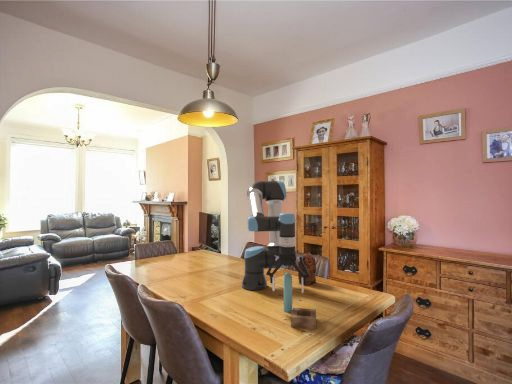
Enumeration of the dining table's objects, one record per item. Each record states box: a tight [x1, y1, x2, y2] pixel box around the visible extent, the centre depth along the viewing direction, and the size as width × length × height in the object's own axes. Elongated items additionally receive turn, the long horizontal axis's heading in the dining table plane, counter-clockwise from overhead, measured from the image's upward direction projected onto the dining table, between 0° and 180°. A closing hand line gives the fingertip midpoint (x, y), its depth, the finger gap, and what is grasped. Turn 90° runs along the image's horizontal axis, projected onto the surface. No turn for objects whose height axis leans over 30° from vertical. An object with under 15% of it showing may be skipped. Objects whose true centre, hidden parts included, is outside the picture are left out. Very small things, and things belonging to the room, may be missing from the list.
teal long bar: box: [283, 271, 293, 313], centre depth 128 cm, size 4×4×18 cm
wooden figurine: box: [297, 253, 317, 286], centre depth 169 cm, size 12×6×18 cm, turn 124°
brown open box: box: [290, 307, 317, 330], centre depth 115 cm, size 10×10×4 cm
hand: (288, 291), depth 128 cm, fingers open, 13 cm apart
